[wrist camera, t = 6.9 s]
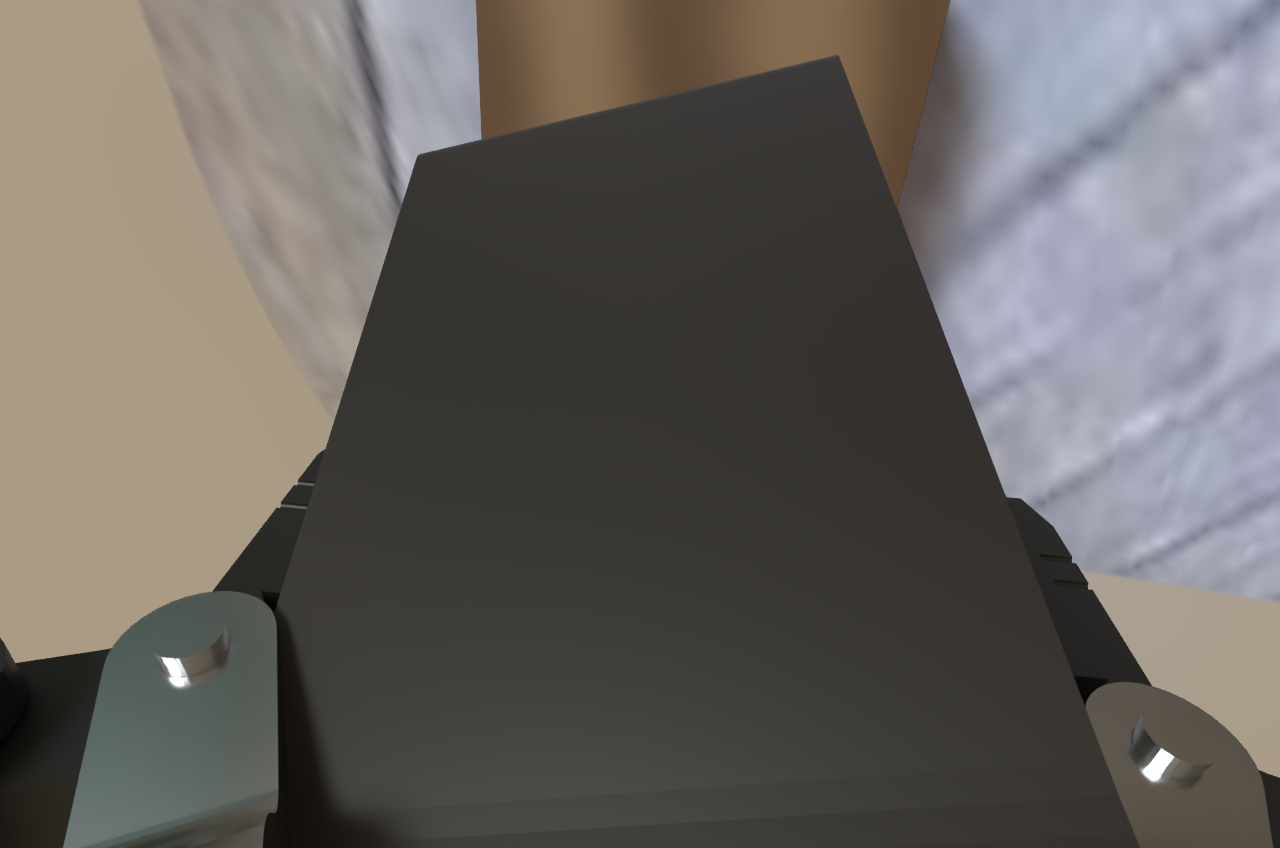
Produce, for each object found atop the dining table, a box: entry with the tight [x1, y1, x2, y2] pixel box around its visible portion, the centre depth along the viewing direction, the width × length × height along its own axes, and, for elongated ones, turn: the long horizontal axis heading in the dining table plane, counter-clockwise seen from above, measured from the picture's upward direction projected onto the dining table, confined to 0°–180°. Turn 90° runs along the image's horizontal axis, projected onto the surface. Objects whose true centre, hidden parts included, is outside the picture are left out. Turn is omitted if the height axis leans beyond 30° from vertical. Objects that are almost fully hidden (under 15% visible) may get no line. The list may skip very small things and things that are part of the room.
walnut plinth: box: [476, 0, 950, 208], centre depth 25 cm, size 13×13×4 cm
